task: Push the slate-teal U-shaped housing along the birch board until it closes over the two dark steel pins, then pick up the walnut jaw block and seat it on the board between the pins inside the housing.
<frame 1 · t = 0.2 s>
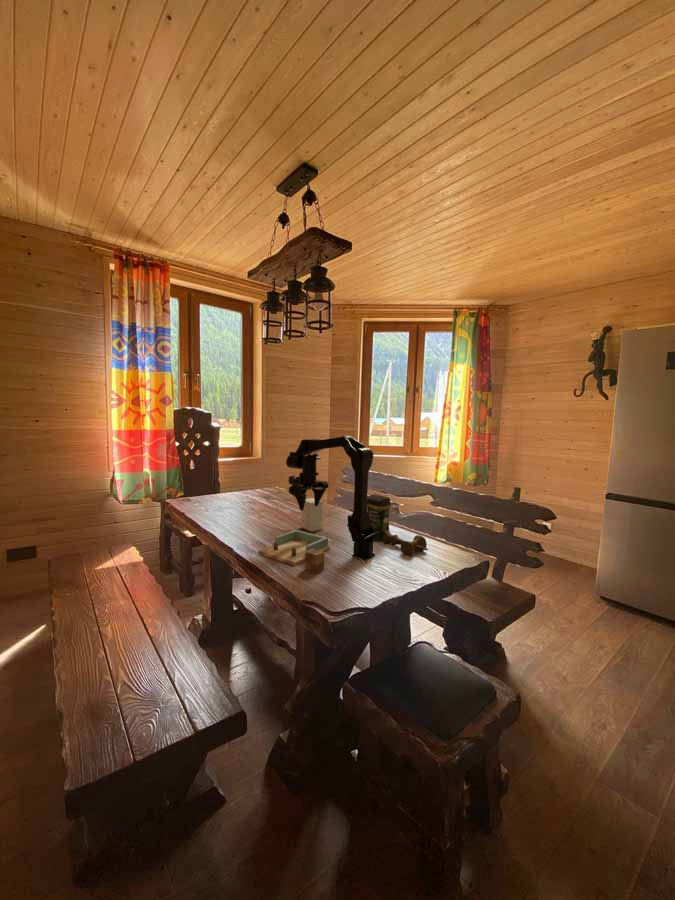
hand: (309, 508, 151), 13 cm above the table, tool pointing down, fingers open, 9 cm apart
kendama: (405, 550, 144), on the table
small box: (311, 528, 169), on the table
jaw block: (314, 569, 124), on the table
coffee jar: (377, 539, 156), on the table
housing: (301, 541, 143), point 3 cm above the table, slide at 8.0 cm
board: (294, 551, 140), on the table
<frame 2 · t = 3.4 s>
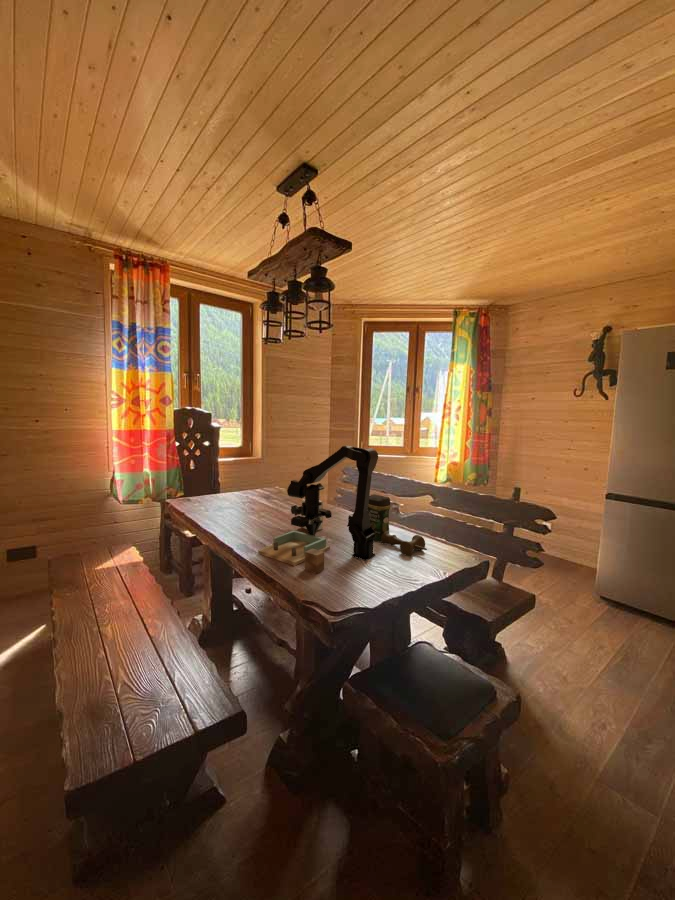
hand: (311, 538, 148), 2 cm above the table, tool pointing down, fingers closed
housing: (299, 542, 142), point 3 cm above the table, slide at 6.9 cm, touching gripper
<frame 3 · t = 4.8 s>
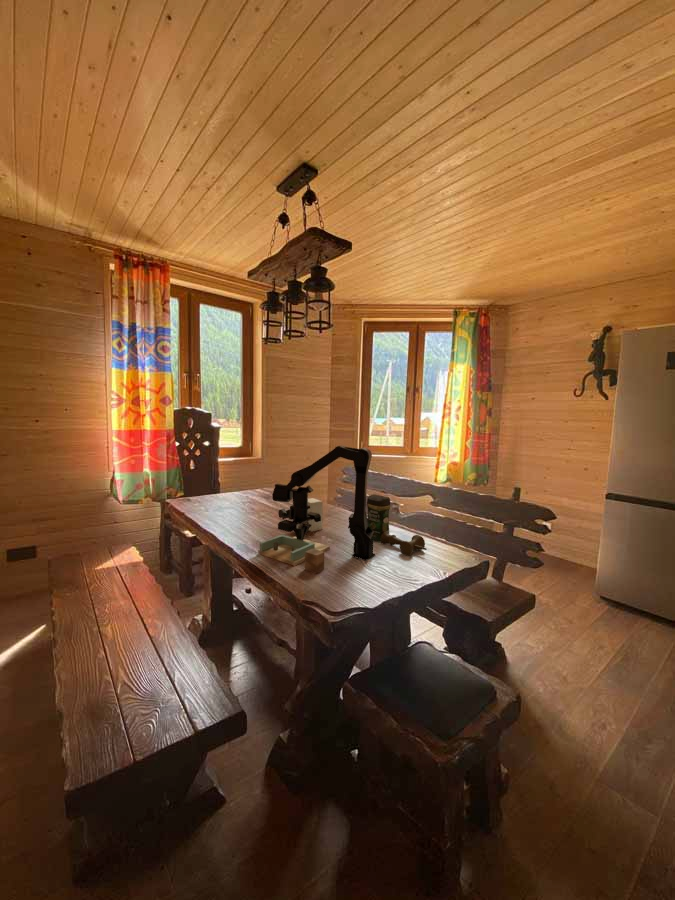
hand: (300, 543, 142), 2 cm above the table, tool pointing down, fingers closed
housing: (287, 547, 137), point 3 cm above the table, slide at 0.0 cm, touching gripper
everything else where it was.
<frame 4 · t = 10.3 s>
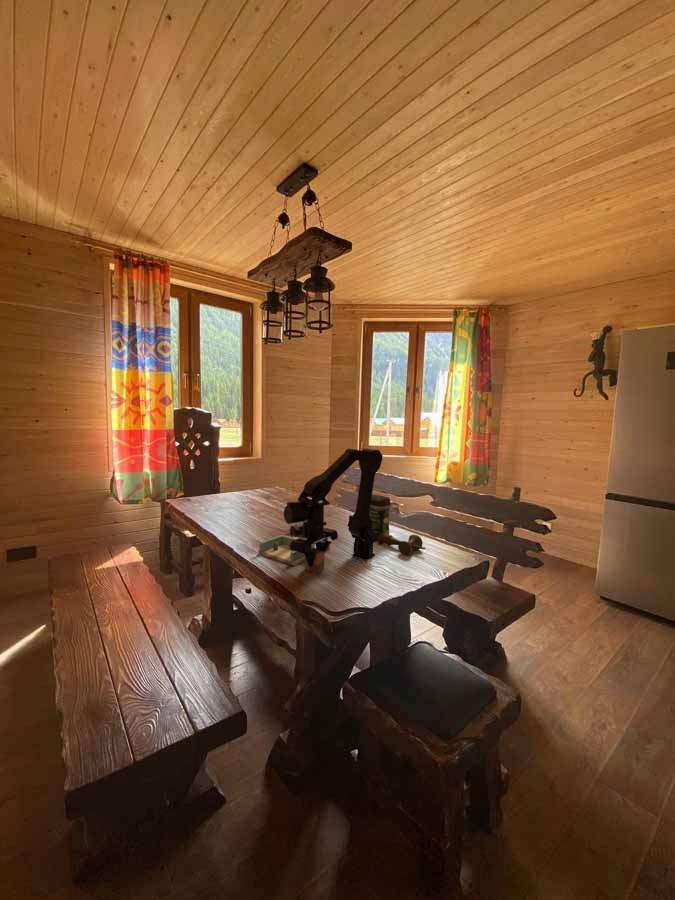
hand: (314, 564, 124), 2 cm above the table, tool pointing down, fingers closed on jaw block, 4 cm apart
jaw block: (314, 569, 124), on the table, touching gripper
housing: (287, 547, 137), point 3 cm above the table, slide at 0.0 cm
when the fingers open (4 cm above the table, at t = 14.3 s): jaw block drops 1 cm, resting on board.
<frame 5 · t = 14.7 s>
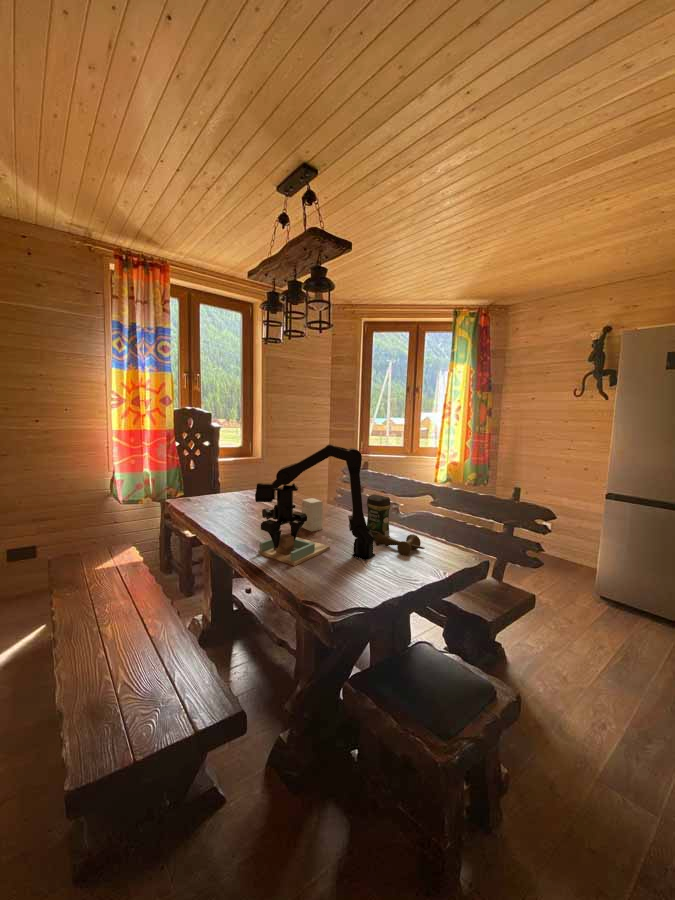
hand: (284, 544, 135), 4 cm above the table, tool pointing down, fingers open, 8 cm apart
jaw block: (284, 552, 136), point 1 cm above the table, touching board
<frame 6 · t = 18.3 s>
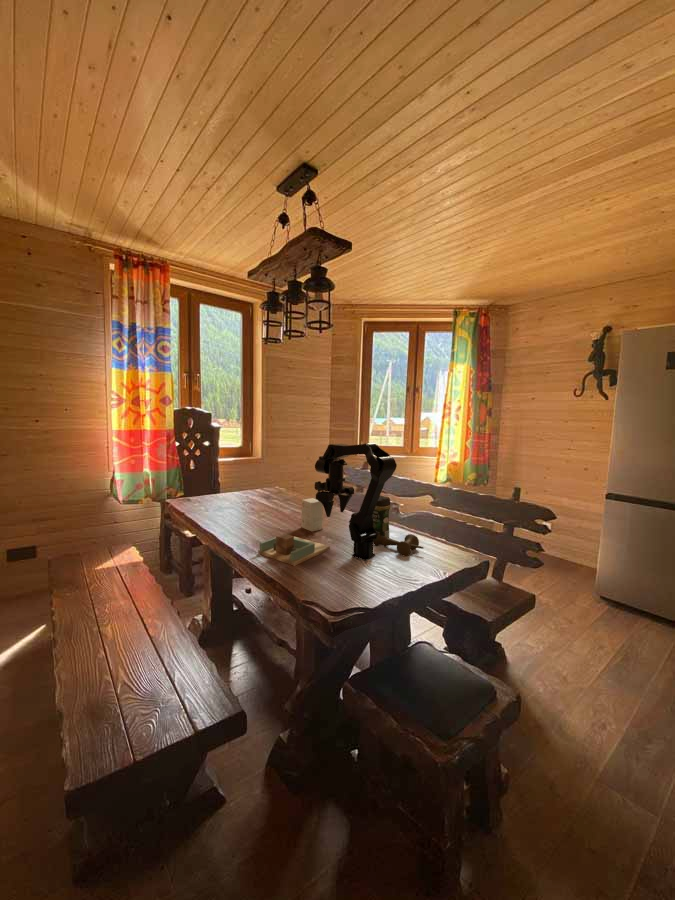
hand: (335, 514, 148), 12 cm above the table, tool pointing down, fingers open, 9 cm apart
at the end: housing slide at 0.0 cm; jaw block inside the target area (0.1 cm from its centre), point 1.2 cm above the table; jaw block tilted 0° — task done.
